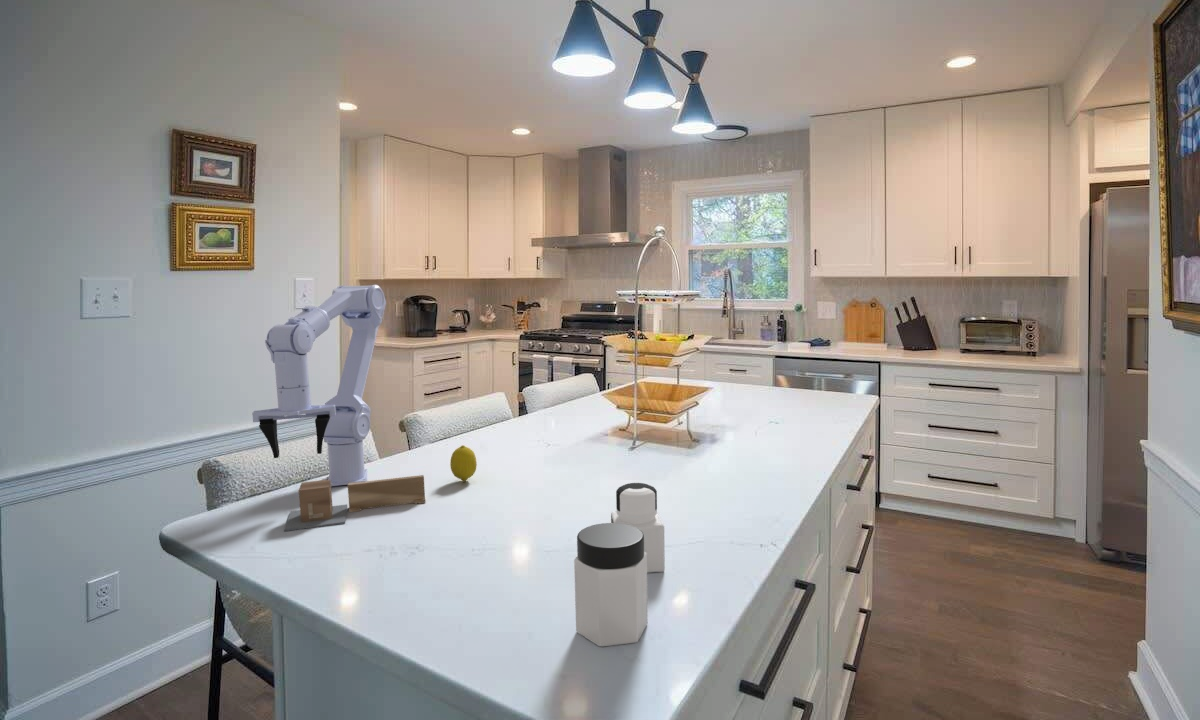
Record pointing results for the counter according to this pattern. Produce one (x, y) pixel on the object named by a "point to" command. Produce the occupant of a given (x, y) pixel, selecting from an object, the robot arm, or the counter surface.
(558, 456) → the counter surface
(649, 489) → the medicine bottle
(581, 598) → the jar
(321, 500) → the letter block
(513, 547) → the counter surface
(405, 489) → the screen
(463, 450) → the lemon
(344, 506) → the mat
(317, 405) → the robot arm
